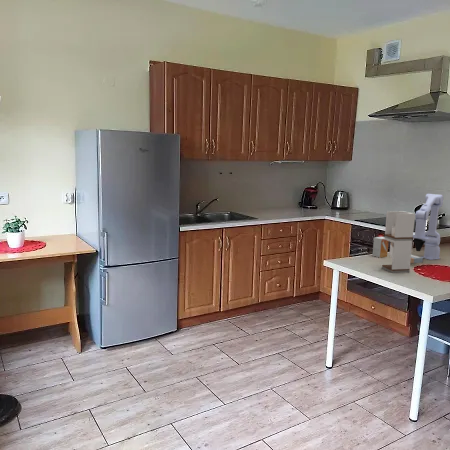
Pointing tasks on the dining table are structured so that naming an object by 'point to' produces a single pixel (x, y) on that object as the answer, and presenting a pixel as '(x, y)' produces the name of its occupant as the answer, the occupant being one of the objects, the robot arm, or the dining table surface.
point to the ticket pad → (417, 259)
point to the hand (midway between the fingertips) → (418, 251)
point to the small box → (380, 247)
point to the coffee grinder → (399, 240)
